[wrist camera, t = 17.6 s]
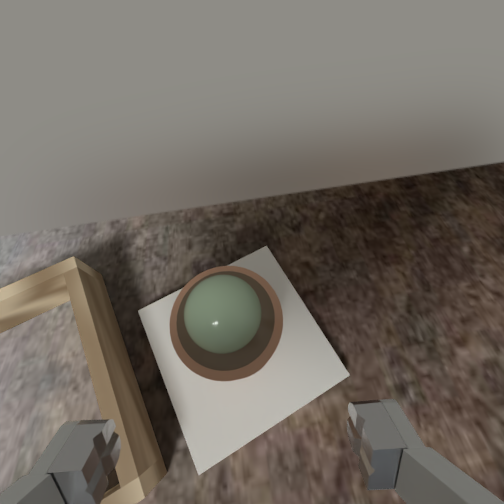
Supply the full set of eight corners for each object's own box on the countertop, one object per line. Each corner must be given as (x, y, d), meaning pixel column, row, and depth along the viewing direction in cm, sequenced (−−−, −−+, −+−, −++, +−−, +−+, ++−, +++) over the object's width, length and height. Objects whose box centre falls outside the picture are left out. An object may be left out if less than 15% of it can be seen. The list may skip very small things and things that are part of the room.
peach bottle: (252, 295, 22) (246, 219, 11) (285, 355, 20) (318, 332, 9) (194, 327, 21) (127, 277, 10) (223, 393, 19) (179, 416, 8)
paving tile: (266, 249, 25) (266, 245, 24) (346, 375, 20) (350, 375, 19) (141, 312, 22) (137, 310, 21) (201, 471, 18) (198, 475, 17)
